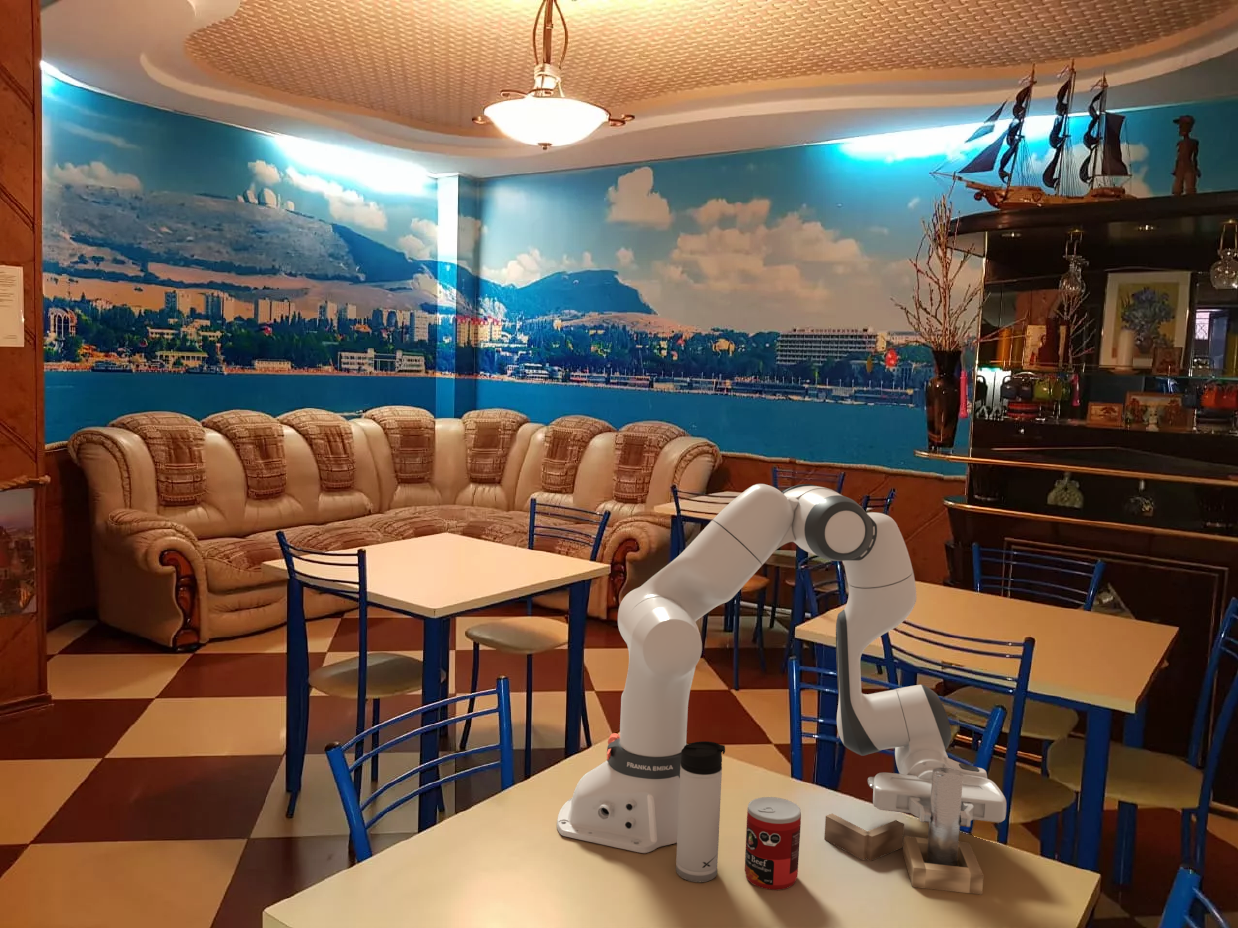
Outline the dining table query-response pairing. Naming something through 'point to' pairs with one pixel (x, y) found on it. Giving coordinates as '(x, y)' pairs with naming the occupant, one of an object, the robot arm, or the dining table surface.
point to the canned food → (772, 842)
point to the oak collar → (942, 868)
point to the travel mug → (699, 811)
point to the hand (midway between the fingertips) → (945, 819)
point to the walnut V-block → (864, 837)
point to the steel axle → (944, 816)
